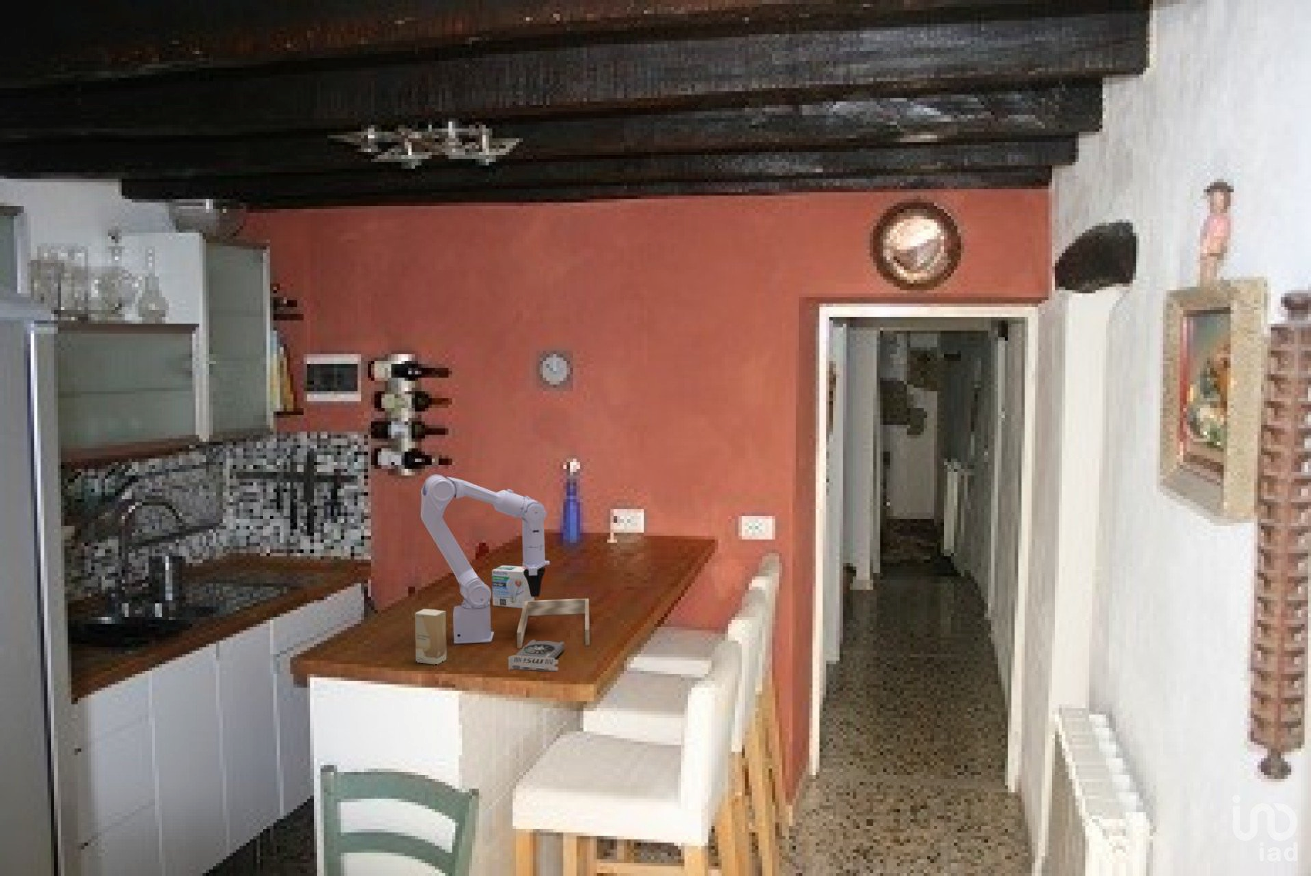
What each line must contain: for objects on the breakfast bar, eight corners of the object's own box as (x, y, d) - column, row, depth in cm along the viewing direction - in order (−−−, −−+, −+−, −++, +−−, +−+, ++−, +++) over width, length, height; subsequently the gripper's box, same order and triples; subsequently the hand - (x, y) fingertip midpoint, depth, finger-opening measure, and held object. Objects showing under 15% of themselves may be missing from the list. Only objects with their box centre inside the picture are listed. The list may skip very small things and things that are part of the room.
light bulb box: (492, 605, 286) (490, 569, 285) (503, 600, 293) (502, 564, 292) (524, 608, 283) (523, 571, 282) (535, 602, 289) (534, 566, 288)
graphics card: (556, 659, 225) (506, 656, 228) (556, 675, 226) (507, 672, 228) (576, 639, 242) (529, 636, 244) (576, 654, 242) (529, 651, 244)
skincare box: (415, 662, 235) (413, 612, 234) (425, 657, 239) (423, 608, 238) (438, 665, 233) (436, 614, 232) (448, 659, 237) (446, 610, 236)
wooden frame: (517, 648, 245) (516, 632, 244) (524, 614, 275) (524, 601, 275) (589, 645, 246) (589, 629, 246) (589, 612, 277) (588, 598, 276)
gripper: (547, 550, 250) (549, 602, 252) (549, 539, 265) (551, 588, 266) (520, 551, 250) (521, 603, 251) (523, 540, 264) (525, 589, 265)
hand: (535, 596), depth 258 cm, fingers closed
